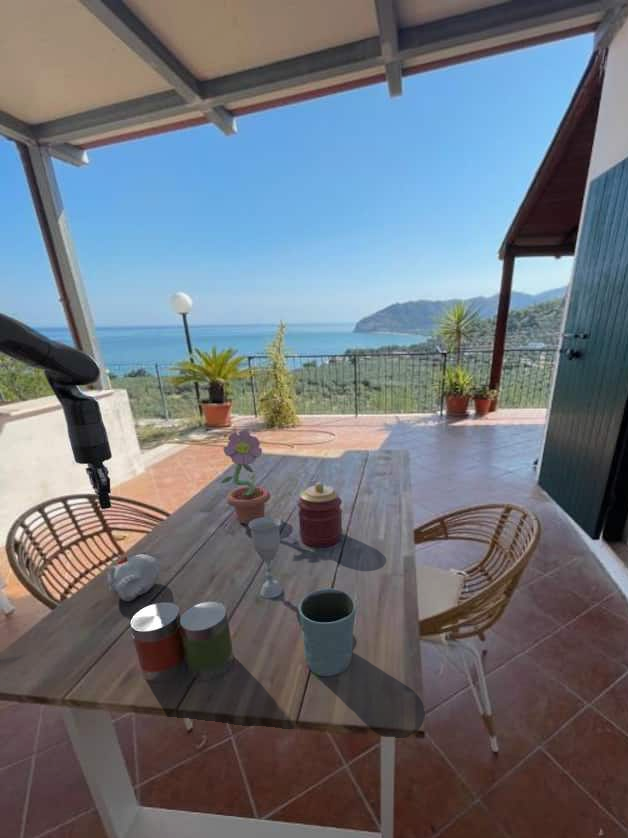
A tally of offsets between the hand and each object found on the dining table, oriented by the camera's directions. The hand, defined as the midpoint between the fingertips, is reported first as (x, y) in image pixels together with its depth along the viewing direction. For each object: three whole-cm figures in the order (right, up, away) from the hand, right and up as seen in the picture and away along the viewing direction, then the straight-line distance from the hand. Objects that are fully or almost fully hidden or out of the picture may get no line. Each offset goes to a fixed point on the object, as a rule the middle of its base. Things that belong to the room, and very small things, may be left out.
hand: (106, 507), depth 98 cm
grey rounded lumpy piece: (+10, -20, -4) cm, 22 cm away
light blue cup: (+59, -27, -25) cm, 69 cm away
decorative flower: (+27, -7, +32) cm, 43 cm away
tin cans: (+33, -27, -26) cm, 50 cm away
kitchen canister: (+52, -11, +20) cm, 57 cm away
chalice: (+43, -20, -5) cm, 48 cm away
